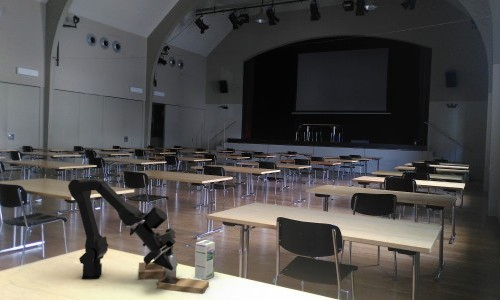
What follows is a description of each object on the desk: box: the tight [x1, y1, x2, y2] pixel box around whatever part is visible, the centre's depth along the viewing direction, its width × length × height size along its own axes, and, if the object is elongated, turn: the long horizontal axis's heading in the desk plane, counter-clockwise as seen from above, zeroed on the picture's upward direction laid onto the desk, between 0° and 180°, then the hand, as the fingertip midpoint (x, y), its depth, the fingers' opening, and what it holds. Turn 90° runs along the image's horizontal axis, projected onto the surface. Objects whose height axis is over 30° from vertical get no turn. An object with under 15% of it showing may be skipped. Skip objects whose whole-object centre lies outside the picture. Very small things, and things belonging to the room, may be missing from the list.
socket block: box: [137, 261, 166, 281], centre depth 172 cm, size 12×12×3 cm
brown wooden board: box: [155, 276, 210, 295], centre depth 159 cm, size 18×8×2 cm, turn 79°
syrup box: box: [194, 239, 216, 281], centre depth 171 cm, size 6×6×14 cm
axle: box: [165, 252, 178, 284], centre depth 160 cm, size 4×4×12 cm
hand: (174, 267), depth 160 cm, fingers closed on axle, 4 cm apart
